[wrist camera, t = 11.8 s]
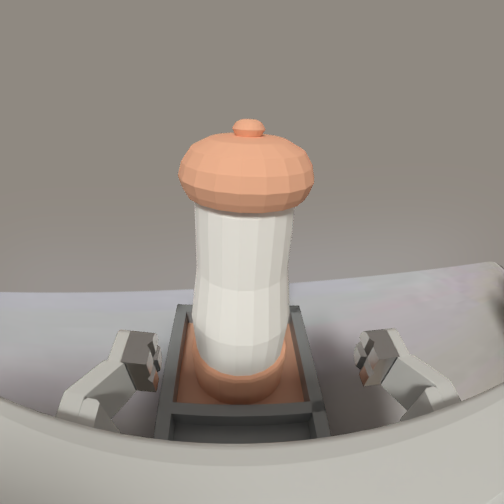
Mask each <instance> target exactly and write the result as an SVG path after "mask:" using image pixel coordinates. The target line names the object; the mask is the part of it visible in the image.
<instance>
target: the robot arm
mask: <svg viewBox="0 0 504 504" xmlns="http://www.w3.org/2000/svg"><path fill="white" fill-rule="evenodd" d="M359 338H360V341H361V342H359V343H358V344H357V345H356V347H355V350H354V362H355V364H356V366H357V367H358V368H359V369H360V370H361V371H360V373H359V375H360V378H361V381H362V384H363V386H371V385H378V384H381V386H382V387H383V388H384V389H385V390H386V391H387V392H388V393H390V394H391V395H392V396H393V397H394V398H395V399H396V400H397V401H398V402H399V403H400V404H401V405H402V406H403V407H404V408H405V409H406V410H407V412H406V413H405V414H404V415H403V416H402V418H401V419H400V421H401V422H398V423H394V424H390V425H386V426H382V427H378V428H373V429H369V430H364V431H359V432H354V433H349V434H343V435H337V436H331V437H324V438H316V439H308V440H299V441H288V442H274V443H252V444H217V443H194V442H181V441H170V440H161V439H153V438H145V437H139V436H132V435H127V434H121V433H119V432H120V431H119V430H118V428H117V427H116V426H115V424H114V423H113V422H112V420H111V419H112V418H113V416H114V415H115V414H116V413H117V412H118V411H119V410H120V409H121V408H122V407H123V405H124V404H125V403H126V402H127V401H128V400H129V399H130V398H131V397H132V396H133V394H134V393H135V392H136V390H138V391H148V392H156V391H157V386H158V380H159V378H158V374H157V372H158V371H160V370H161V364H162V353H161V348H160V347H159V346H158V345H157V344H158V336H157V334H156V333H148V332H138V331H128V330H119V332H118V333H117V336H116V338H115V341H114V344H113V346H112V349H111V352H110V355H109V357H108V360H104V361H102V362H101V363H100V364H99V365H97V366H96V367H95V368H94V369H92V370H91V371H90V372H88V373H87V374H86V375H85V376H83V377H82V378H81V379H80V380H78V381H77V382H76V383H74V384H73V385H72V386H71V387H69V388H68V389H67V390H66V391H64V394H63V397H62V399H61V402H60V405H59V408H58V411H57V414H56V416H55V417H53V416H50V415H47V414H44V413H41V412H38V411H35V410H32V409H30V408H27V407H24V406H22V405H19V404H17V403H14V402H12V401H9V400H7V399H5V398H2V397H0V504H504V382H503V383H501V384H499V385H497V386H495V387H493V388H491V389H489V390H487V391H484V392H482V393H480V394H478V395H475V396H473V397H471V398H468V399H466V400H463V401H461V400H460V398H459V396H458V394H457V392H456V390H455V388H454V386H453V384H452V382H451V380H449V379H448V378H446V377H445V376H443V375H442V374H441V373H439V372H438V371H436V370H435V369H433V368H432V367H430V366H429V365H427V364H426V363H425V362H423V361H422V360H420V359H419V358H417V357H416V356H414V355H410V353H409V351H408V350H407V348H406V346H405V344H404V342H403V340H402V339H401V337H400V335H399V333H398V331H397V330H396V329H395V328H391V329H381V330H372V331H363V332H362V333H361V335H360V337H359Z"/></svg>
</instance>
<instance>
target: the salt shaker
mask: <svg viewBox="0 0 504 504" xmlns="http://www.w3.org/2000/svg"><path fill="white" fill-rule="evenodd" d="M233 130H234V133H221V134H215V135H211V136H209V137H207V138H204V139H202V140H200V141H199V142H196V143H194V144H192V145H191V147H190V148H189V150H188V151H187V153H186V154H185V156H184V158H183V159H182V161H181V164H180V168H179V173H178V177H179V180H180V182H181V185H182V187H183V189H184V190H185V192H186V194H187V195H188V197H189V199H190V200H192V201H194V202H195V228H196V229H195V231H196V256H197V271H196V280H195V289H194V298H193V308H192V319H193V326H194V332H195V336H194V338H193V343H192V354H193V361H194V367H195V373H196V377H197V380H198V382H199V385H200V386H201V387H202V389H203V390H204V391H205V392H206V393H207V394H208V395H209V396H211V397H213V398H214V399H216V400H218V401H220V402H223V403H227V404H231V405H249V404H252V403H255V402H258V401H261V400H263V399H265V398H266V397H267V396H269V395H270V394H272V393H273V392H274V390H275V389H276V387H277V386H278V384H279V383H280V379H281V374H282V370H283V365H284V361H285V356H286V350H287V346H286V342H285V338H284V337H285V332H286V328H287V324H288V318H289V282H288V262H289V253H290V246H291V238H292V229H293V221H294V212H295V207H296V206H298V205H299V204H300V203H302V202H303V201H304V200H305V198H306V197H307V196H308V194H309V192H310V190H311V188H312V186H313V184H314V174H313V166H312V163H311V161H310V159H309V157H308V156H307V154H306V152H305V151H304V150H302V149H301V148H300V147H298V146H297V145H295V144H293V143H292V142H290V141H289V140H287V139H285V138H282V137H278V136H273V135H267V134H263V132H264V131H265V128H264V126H263V124H262V123H261V122H259V121H258V120H254V119H241V120H239V121H237V122H236V123H235V124H234V126H233Z"/></svg>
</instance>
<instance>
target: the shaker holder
mask: <svg viewBox="0 0 504 504" xmlns="http://www.w3.org/2000/svg"><path fill="white" fill-rule="evenodd" d="M192 308H193V305H182V304H178V305H177V309H176V314H175V319H174V323H173V328H172V333H171V338H170V343H169V348H168V353H167V358H166V364H165V369H164V375H163V380H162V386H161V392H160V398H159V404H158V411H157V417H156V424H155V431H154V438H153V439H161V440H170V441H181V442H194V443H217V444H252V443H274V442H288V441H299V440H308V439H316V438H324V437H331V433H330V428H329V424H328V419H327V415H326V411H325V407H324V402H323V398H322V394H321V390H320V386H319V382H318V378H317V373H316V369H315V365H314V361H313V357H312V353H311V350H310V346H309V342H308V338H307V334H306V330H305V326H304V323H303V319H302V315H301V311H300V308H299V306H289V318H288V324H287V328H286V332H285V337H284V338H285V342H286V346H287V350H286V356H285V361H284V365H283V370H282V374H281V379H280V383H279V384H278V386H277V387H276V389H275V390H274V392H273V393H272V394H270V395H269V396H267V397H266V398H265V399H263V400H261V401H258V402H255V403H252V404H249V405H231V404H227V403H223V402H220V401H218V400H216V399H214V398H213V397H211V396H209V395H208V394H207V393H206V392H205V391H204V390H203V389H202V387H201V386H200V385H199V382H198V380H197V377H196V373H195V367H194V361H193V354H192V343H193V338H194V336H195V332H194V326H193V319H192Z"/></svg>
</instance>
